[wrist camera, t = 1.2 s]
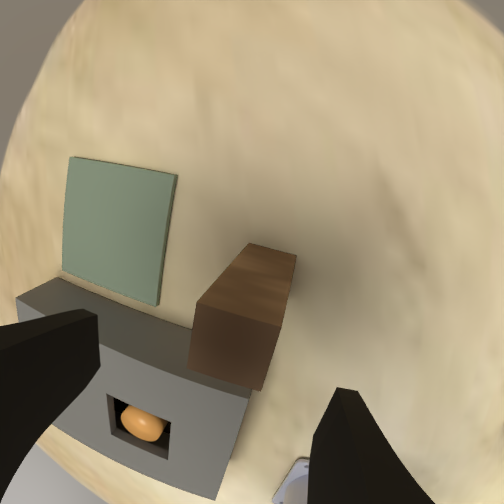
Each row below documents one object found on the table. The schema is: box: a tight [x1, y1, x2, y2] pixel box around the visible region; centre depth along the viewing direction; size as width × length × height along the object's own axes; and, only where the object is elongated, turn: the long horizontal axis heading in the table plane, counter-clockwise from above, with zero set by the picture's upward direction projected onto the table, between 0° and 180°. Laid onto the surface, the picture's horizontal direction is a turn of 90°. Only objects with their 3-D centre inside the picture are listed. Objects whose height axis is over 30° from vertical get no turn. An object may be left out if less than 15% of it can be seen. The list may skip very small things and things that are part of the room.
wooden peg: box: [187, 243, 296, 392], centre depth 13 cm, size 3×3×8 cm
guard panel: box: [16, 277, 252, 501], centre depth 19 cm, size 16×12×4 cm
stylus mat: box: [62, 157, 177, 307], centre depth 18 cm, size 8×8×1 cm
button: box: [121, 405, 168, 441], centre depth 17 cm, size 3×3×2 cm
